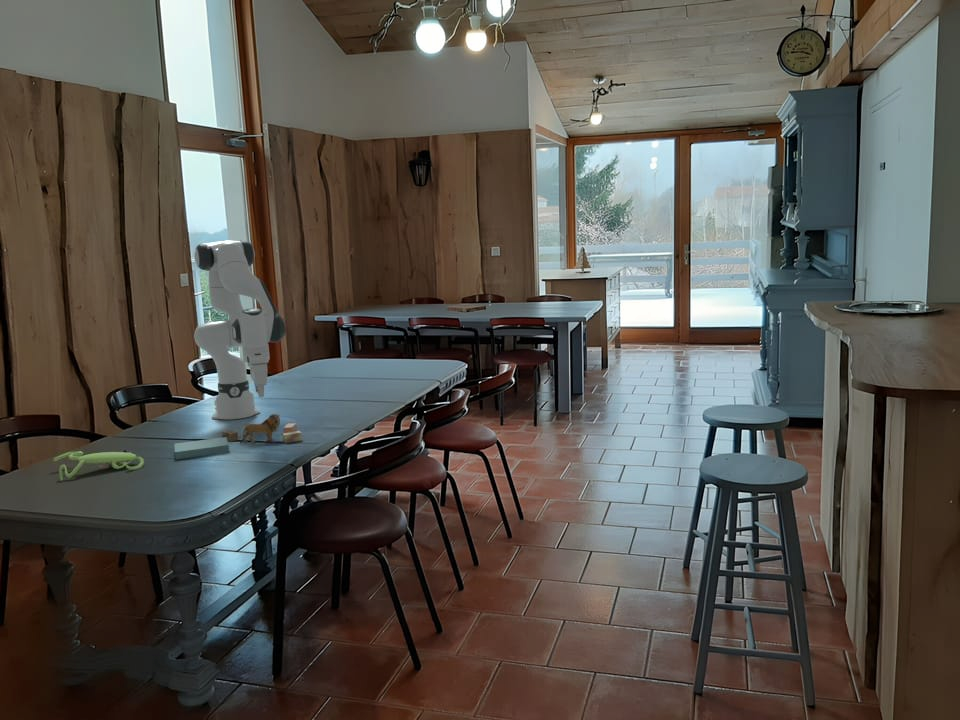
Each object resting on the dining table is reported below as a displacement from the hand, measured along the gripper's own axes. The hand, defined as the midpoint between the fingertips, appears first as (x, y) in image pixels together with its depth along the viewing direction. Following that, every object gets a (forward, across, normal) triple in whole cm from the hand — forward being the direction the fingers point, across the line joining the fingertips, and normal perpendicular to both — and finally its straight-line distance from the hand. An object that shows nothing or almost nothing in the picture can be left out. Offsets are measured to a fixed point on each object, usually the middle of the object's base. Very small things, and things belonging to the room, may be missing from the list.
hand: (260, 394), depth 275 cm
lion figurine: (+17, 0, -1) cm, 17 cm away
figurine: (+17, +8, -53) cm, 56 cm away
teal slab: (+17, +4, -21) cm, 27 cm away
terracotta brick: (+17, -6, +10) cm, 21 cm away
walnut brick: (+17, -8, -11) cm, 22 cm away
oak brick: (+17, +6, +9) cm, 20 cm away
